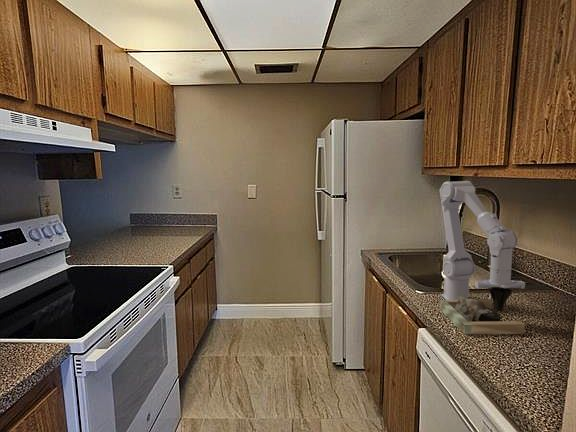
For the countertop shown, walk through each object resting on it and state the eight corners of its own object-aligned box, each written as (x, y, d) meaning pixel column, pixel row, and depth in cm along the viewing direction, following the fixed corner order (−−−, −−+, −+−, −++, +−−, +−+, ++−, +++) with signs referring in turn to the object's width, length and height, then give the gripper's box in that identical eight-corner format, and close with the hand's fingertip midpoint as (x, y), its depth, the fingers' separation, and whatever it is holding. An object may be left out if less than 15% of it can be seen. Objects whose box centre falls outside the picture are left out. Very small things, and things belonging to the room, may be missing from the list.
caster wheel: (501, 330, 115) (482, 333, 111) (471, 311, 125) (451, 313, 120) (509, 312, 114) (489, 314, 109) (477, 294, 123) (458, 295, 118)
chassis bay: (438, 308, 128) (438, 300, 127) (489, 307, 127) (489, 299, 127) (464, 334, 108) (464, 324, 108) (524, 333, 107) (524, 324, 107)
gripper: (483, 272, 111) (481, 314, 113) (532, 271, 111) (529, 314, 113) (472, 266, 118) (471, 306, 120) (518, 265, 118) (516, 305, 120)
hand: (498, 309), depth 117 cm, fingers closed
